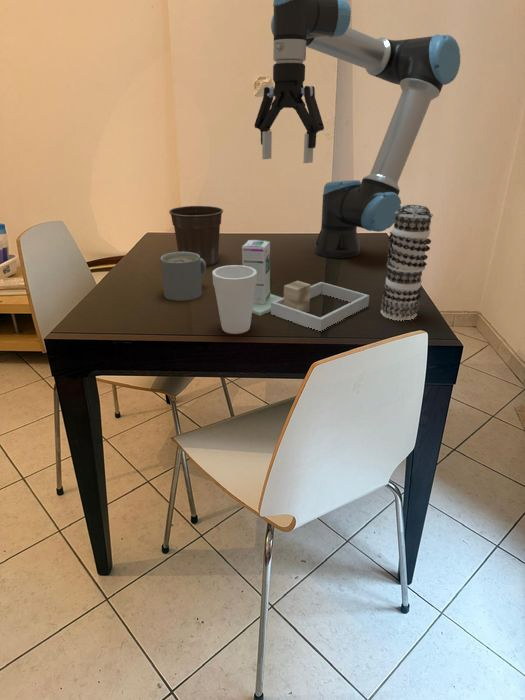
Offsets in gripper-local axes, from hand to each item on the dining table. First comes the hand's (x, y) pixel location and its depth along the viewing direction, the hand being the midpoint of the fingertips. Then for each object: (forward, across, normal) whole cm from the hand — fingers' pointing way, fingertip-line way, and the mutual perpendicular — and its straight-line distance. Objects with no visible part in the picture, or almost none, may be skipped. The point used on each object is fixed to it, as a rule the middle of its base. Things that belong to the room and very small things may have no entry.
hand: (286, 160), depth 118 cm
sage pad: (+32, +7, -18) cm, 37 cm away
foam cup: (+32, +13, -32) cm, 47 cm away
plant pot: (+32, -31, -5) cm, 45 cm away
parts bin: (+32, +21, -11) cm, 40 cm away
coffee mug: (+32, -12, -25) cm, 42 cm away
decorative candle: (+32, +36, 0) cm, 48 cm away
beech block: (+32, +18, -16) cm, 40 cm away
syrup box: (+31, +6, -18) cm, 36 cm away
